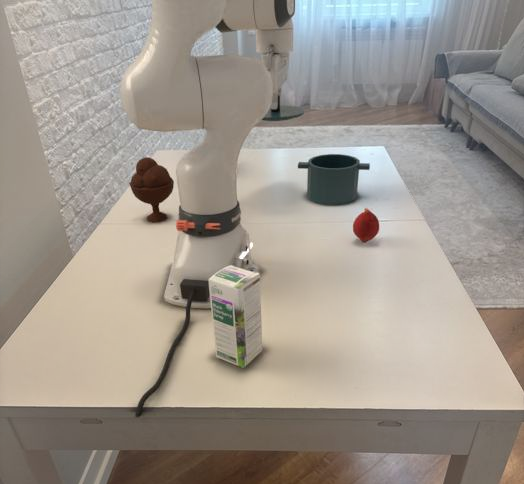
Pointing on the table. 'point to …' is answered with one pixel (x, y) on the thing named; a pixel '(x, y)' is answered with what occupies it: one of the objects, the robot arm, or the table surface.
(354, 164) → the pot
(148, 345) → the table surface
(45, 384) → the table surface
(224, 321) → the syrup box
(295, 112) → the lid
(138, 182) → the ice cream bowl
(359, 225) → the onion
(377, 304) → the table surface
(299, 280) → the table surface
